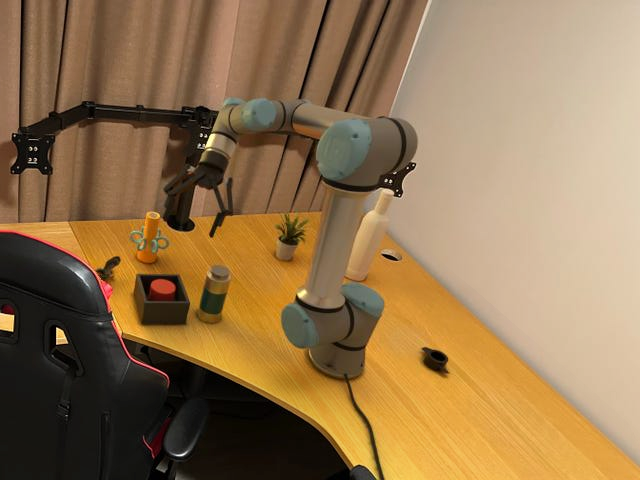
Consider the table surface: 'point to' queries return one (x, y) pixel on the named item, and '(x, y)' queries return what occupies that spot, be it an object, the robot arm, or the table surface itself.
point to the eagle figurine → (108, 268)
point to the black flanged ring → (435, 359)
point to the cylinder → (149, 239)
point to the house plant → (289, 237)
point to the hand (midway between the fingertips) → (187, 228)
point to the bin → (161, 309)
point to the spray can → (214, 293)
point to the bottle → (369, 238)
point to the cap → (161, 290)
